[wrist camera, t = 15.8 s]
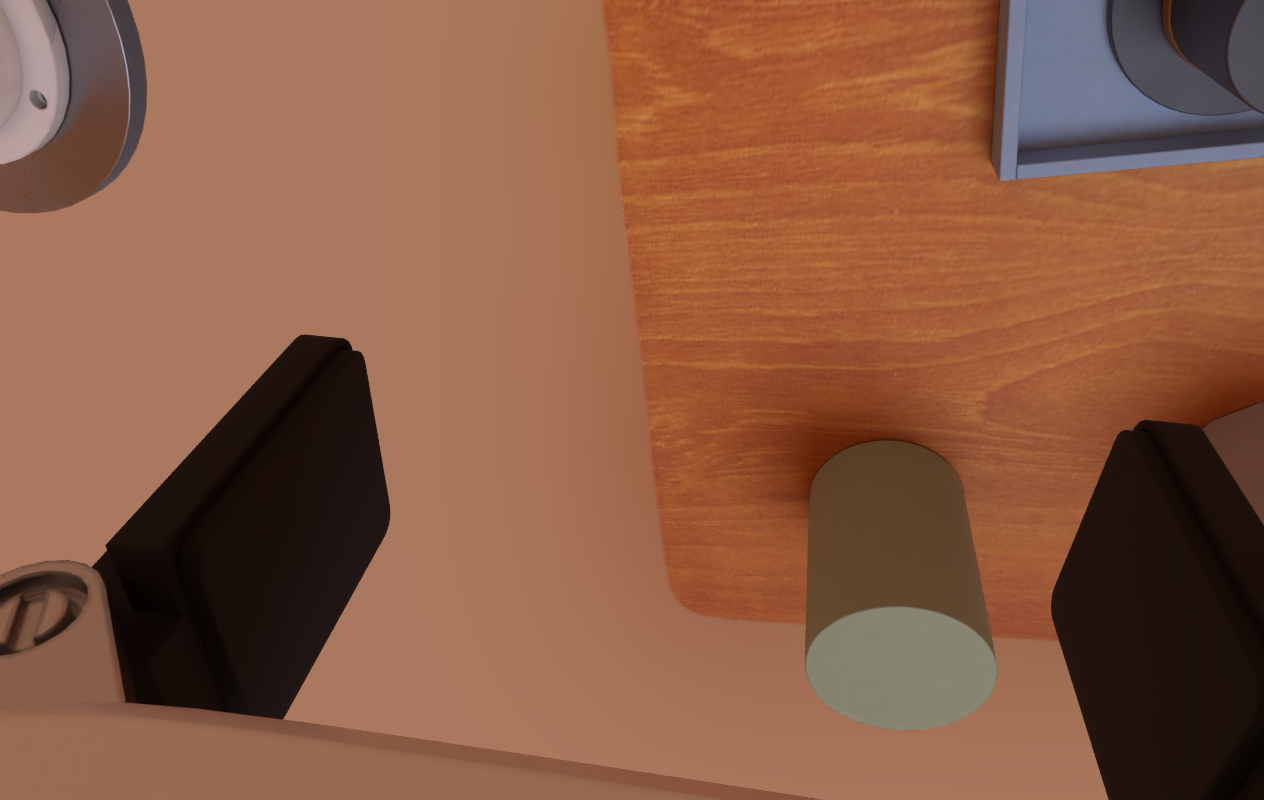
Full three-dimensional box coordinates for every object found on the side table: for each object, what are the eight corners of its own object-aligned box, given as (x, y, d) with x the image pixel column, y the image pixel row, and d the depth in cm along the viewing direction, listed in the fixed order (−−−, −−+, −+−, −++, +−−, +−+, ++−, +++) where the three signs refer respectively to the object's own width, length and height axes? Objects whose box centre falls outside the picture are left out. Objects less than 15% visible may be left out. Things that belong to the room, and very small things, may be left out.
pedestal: (779, 506, 47) (768, 673, 38) (875, 413, 43) (888, 577, 34) (893, 575, 48) (908, 753, 39) (997, 492, 44) (1040, 670, 35)
